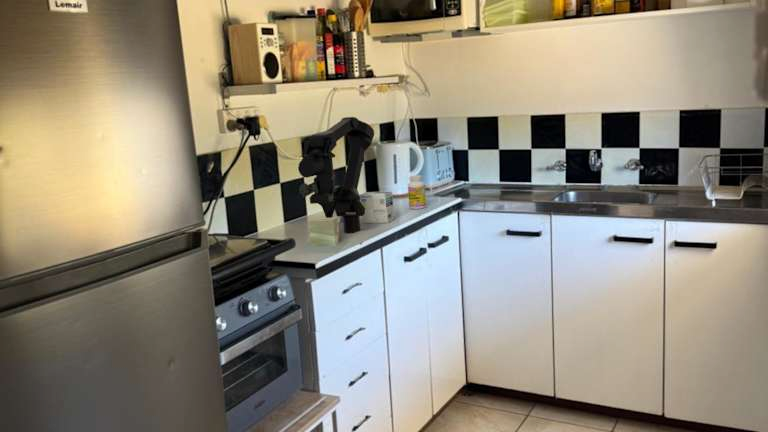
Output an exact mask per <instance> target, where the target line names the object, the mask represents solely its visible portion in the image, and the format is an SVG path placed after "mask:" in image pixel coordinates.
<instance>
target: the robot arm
mask: <svg viewBox="0 0 768 432" xmlns="http://www.w3.org/2000/svg"><path fill="white" fill-rule="evenodd" d="M344 136H347V137H348V143H349V146H350V151H349V157H348V160H347V165H346V170H345V175H344V178H343V180H344V181H343V185H342V186H341V185H335V183H336V182H335V179H336V178H337V175H336V174H335V173H334V163H333V161H334V160H333V158H335V157H336V154H335V153H333V150H334V149H335V148H336V147H337V145H338V144H337V142H338V141H339V140H340V139H342V138H343V137H344ZM374 137H375V131H374V128H373V127H372V126H371V125H370V124H368V123H367V122H365V121H362V120H360V119H358V118H357V117H355V116H350V117H349V116H347V117H346V116H345V117H343V118H341V119H340V121H339V122H337V123H335V124H334V125H333V126H331V127H330V128H328V129H326V130H324V131H321V132H317V133H313V134H312V135H310V137H309V141H308V143H307V147H306V151H305V154H304V155H302V160H300V162H299V163H298V165H297V166H298V167H297V168H298V172H299V174H300V175H301V176H302V177H303V178H311V177H314V178H313V182H311V183H310V184H307V182H304V183H302V184H300V185H299V189H298V190H299V191H298V192H299V193H298V194H299V195H300V194H301V196H302V198H306V197H307V196H309V195H310V197H309V204H310V205H315V204H318V205H319V206H321V208H322V210H323V213H324V216H325V218H332V216H333V213H334V210H335V212H336V215H337V216H338V217H339V216H343V221H342V224H343V233H344V234H346V235H347V234H355V233H358V232H361V231H364V229H361V222H360V221H361V220H360V217H362V216H363V215H364V214H365V208H364V206H363V205H362V204H361V202H360V192H359V191H358V187H359V181H360V177H361V173H362V169H363V168H362V167H363V162H364V158H365V155H366V153H365V152H366V151H367V149H369V147H370V146H371V145H372V143H373V139H374Z"/></svg>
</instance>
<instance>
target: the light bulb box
mask: <svg viewBox="0 0 768 432" xmlns="http://www.w3.org/2000/svg"><path fill="white" fill-rule="evenodd" d="M359 195H360V202H361V204H362V205H363V206H364V208H365V214H364V215H363V216H361V223H362V224H388V223H390V222H392V221H395V218H396V217H395V210H394V200H393V199H394V198H393V197H394V195H393V191H391V190H390V191H366V192H363V193H359Z"/></svg>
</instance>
